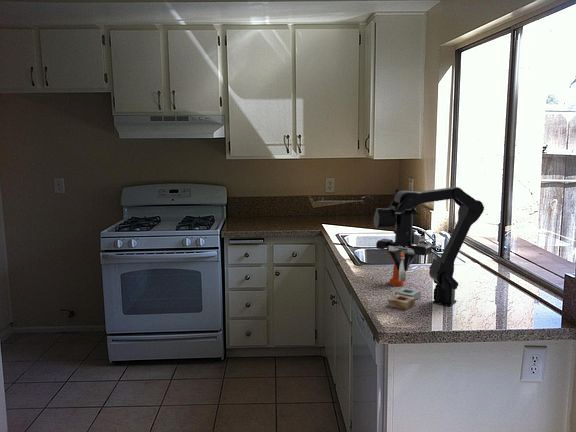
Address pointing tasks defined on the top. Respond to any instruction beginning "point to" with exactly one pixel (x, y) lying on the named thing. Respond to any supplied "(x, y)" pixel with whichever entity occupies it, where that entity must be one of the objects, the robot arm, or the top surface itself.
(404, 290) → the gray square ring
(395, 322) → the top surface
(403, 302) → the socket block
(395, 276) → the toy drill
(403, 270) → the silver metal rod
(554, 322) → the top surface
